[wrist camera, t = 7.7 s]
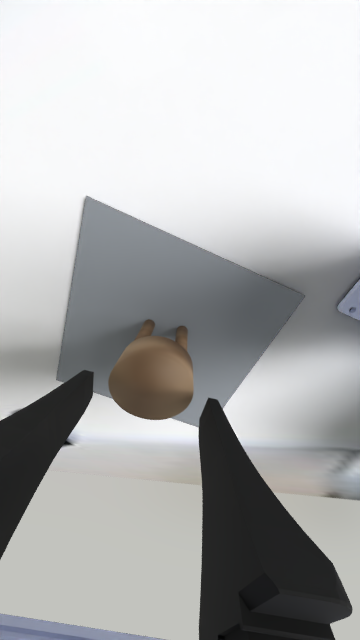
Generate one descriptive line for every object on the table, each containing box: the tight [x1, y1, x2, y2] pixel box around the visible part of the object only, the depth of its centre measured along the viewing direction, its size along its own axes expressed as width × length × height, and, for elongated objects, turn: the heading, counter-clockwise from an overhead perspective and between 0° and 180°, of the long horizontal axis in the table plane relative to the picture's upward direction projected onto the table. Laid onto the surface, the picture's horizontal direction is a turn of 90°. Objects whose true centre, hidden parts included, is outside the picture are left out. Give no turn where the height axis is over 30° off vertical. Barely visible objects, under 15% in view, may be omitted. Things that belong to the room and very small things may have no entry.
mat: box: [56, 196, 305, 427], centre depth 17 cm, size 18×18×1 cm
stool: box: [108, 319, 194, 420], centre depth 14 cm, size 5×5×6 cm
